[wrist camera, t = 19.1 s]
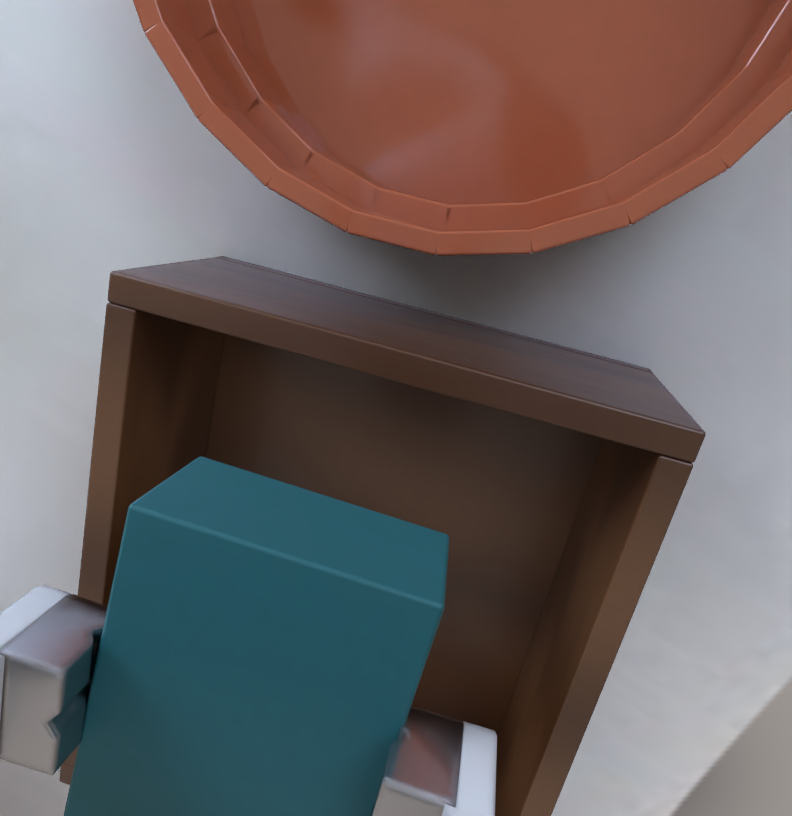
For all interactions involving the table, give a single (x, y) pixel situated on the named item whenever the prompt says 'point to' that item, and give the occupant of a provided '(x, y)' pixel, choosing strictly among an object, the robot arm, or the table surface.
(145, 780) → the teal sponge
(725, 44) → the bowl
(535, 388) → the holder
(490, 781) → the robot arm
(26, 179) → the table surface
